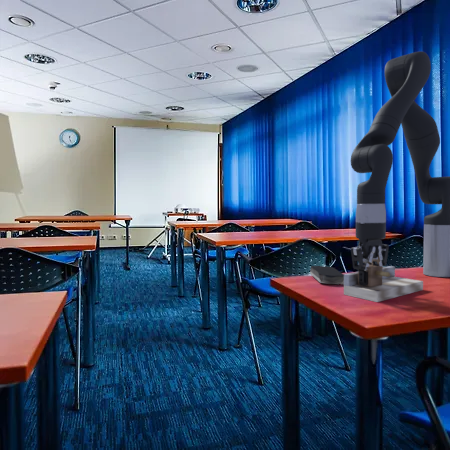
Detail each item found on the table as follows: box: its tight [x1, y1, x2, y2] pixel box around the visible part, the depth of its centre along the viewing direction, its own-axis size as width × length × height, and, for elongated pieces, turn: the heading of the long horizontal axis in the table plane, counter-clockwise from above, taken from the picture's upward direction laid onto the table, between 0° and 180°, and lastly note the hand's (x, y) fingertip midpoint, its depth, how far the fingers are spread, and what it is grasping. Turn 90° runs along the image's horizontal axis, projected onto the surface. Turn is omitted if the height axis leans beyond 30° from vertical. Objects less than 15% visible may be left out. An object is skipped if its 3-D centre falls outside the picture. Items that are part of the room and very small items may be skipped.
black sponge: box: [309, 265, 345, 286], centre depth 119 cm, size 16×8×4 cm, turn 178°
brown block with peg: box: [357, 264, 390, 287], centre depth 97 cm, size 5×8×5 cm, turn 35°
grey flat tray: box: [343, 265, 424, 303], centre depth 101 cm, size 22×10×6 cm, turn 125°
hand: (369, 283), depth 99 cm, fingers closed on brown block with peg, 5 cm apart
